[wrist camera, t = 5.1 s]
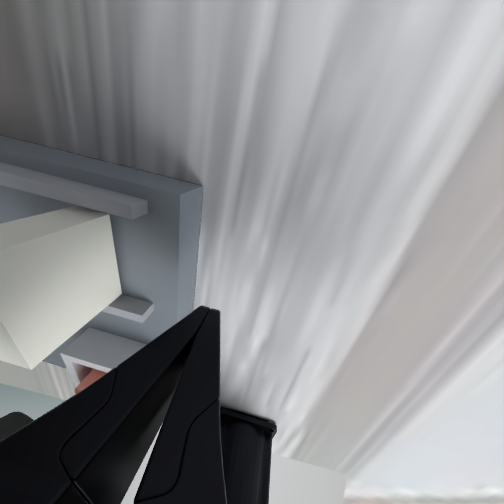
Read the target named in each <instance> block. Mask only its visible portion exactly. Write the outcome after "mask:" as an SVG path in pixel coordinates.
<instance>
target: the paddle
mask: <svg viewBox="0 0 504 504" xmlns="http://www.w3.org/2000/svg"><path fill="white" fill-rule="evenodd" d="M121 294H122V291H121V285H120V278H119V272H118V266H117V260H116V253H115V247H114V241H113V235H112V228H111V222H110V216H109V214H107V213H103V212H99V211H96V210H92V209H88V208H84V207H81V206H72V207H68V208H64V209H60V210H56V211H52V212H47V213H43V214H39V215H35V216H31V217H27V218H22V219H18V220H14V221H10V222H6V223H2V224H0V360H1V361H4V362H8V363H11V364H14V365H17V366H20V367H23V368H27V369H30V370H32V369H33V368H34V367H35V366H36V365H38V364H39V363H40V362H41V361H42V360H44V359H45V358H46V357H47V356H48V355H50V354H51V353H52V352H53V351H54V350H55V349H57V348H58V347H59V346H60V345H61V344H63V343H64V342H65V341H66V340H67V339H69V338H70V337H71V336H72V335H73V334H75V333H76V332H77V331H78V330H79V329H81V328H82V327H83V326H84V325H85V324H86V323H88V322H89V321H90V320H91V319H92V318H94V317H95V316H96V315H97V314H98V313H100V312H101V311H102V310H103V309H104V308H106V307H107V306H108V305H109V304H110V303H112V302H113V301H114V300H115V299H116V298H117V297H119V296H120V295H121Z"/></svg>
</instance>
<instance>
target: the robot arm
mask: <svg viewBox="0 0 504 504" xmlns="http://www.w3.org/2000/svg"><path fill="white" fill-rule="evenodd" d="M162 423H163V424H162ZM161 425H162V427H161V429H160V432H159V435H158V437H157V440H156V443H155V445H154V448H153V451H152V453H151V456H150V458H149V461H148V464H147V467H146V469H145V472H144V475H143V477H142V480H141V483H140V485H139V488H138V491H137V493H136V496H135V498H134V504H268V502H269V483H270V466H271V447H272V438H273V437H274V435H275V434H276V432H277V426H276V425H275V424H272V423H269V422H265V421H262V420H259V419H256V418H252V417H249V416H246V415H243V414H240V413H236V412H233V411H230V410H227V409H223V408H220V311H219V310H216V309H210V308H209V307H206V306H200V307H198V308H197V309H195V310H194V311H193V312H191V313H190V314H189V315H187V316H186V317H184V318H183V319H182V320H180V321H179V322H177V323H176V324H175V325H173V326H172V327H170V328H169V329H168V330H166V331H165V332H163V333H162V334H161V335H159V336H158V337H157V338H155V339H154V340H152V341H151V342H150V343H148V344H147V345H145V346H144V347H143V348H141V349H140V350H138V351H137V352H136V353H134V354H133V355H132V356H130V357H129V358H127V359H126V360H125V361H123V362H122V363H120V364H119V365H118V366H117V368H116V367H115V368H113V369H112V370H110V371H109V372H108V373H106V374H105V375H104V376H102V377H101V378H99V379H98V380H96V381H95V382H93V383H92V384H91V385H89V386H88V387H86V388H85V389H83V390H82V391H80V392H79V393H77V394H76V395H74V396H73V397H71V398H69V399H68V400H66V401H65V402H63V403H62V404H60V405H58V406H57V407H55V408H54V409H52V410H50V411H49V412H47V413H46V414H44V415H42V416H41V417H39V418H37V419H36V420H34V421H33V422H31V423H29V424H28V425H26V426H24V427H23V428H21V429H20V430H18V431H16V432H15V433H13V434H12V435H10V436H8V437H7V438H5V439H3V440H2V441H0V504H121V502H122V500H123V498H124V496H125V494H126V492H127V490H128V488H129V486H130V484H131V482H132V481H133V479H134V477H135V475H136V473H137V471H138V469H139V467H140V465H141V463H142V461H143V459H144V457H145V455H146V453H147V452H148V449H149V448H150V446H151V444H152V442H153V440H154V438H155V436H156V434H157V432H158V430H159V428H160V426H161Z"/></svg>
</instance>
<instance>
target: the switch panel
mask: <svg viewBox="0 0 504 504" xmlns="http://www.w3.org/2000/svg"><path fill="white" fill-rule="evenodd" d="M202 196H203V186H201V185H197V184H193V183H189V182H185V181H181V180H177V179H173V178H169V177H165V176H161V175H157V174H153V173H149V172H145V171H141V170H137V169H133V168H129V167H125V166H121V165H117V164H113V163H109V162H105V161H101V160H97V159H93V158H89V157H85V156H82V155H78V154H74V153H70V152H66V151H62V150H58V149H54V148H50V147H46V146H42V145H38V144H34V143H30V142H26V141H22V140H18V139H14V138H10V137H6V136H2V135H0V224H2V223H6V222H10V221H14V220H18V219H22V218H27V217H31V216H35V215H39V214H43V213H47V212H52V211H56V210H60V209H64V208H68V207H72V206H81V207H84V208H88V209H92V210H96V211H99V212H103V213H107V214H109V216H110V222H111V228H112V235H113V241H114V247H115V253H116V260H117V266H118V272H119V278H120V285H121V291H122V294H121V295H120V296H119V297H117V298H116V299H115V300H114V301H113V302H112V303H110V304H109V305H108V306H107V307H106V308H104V309H103V310H102V311H101V312H100V313H98V314H97V315H96V316H95V317H94V318H92V319H91V320H90V321H89V322H88V323H86V324H85V325H84V326H83V327H82V328H81V329H79V330H78V331H77V332H76V333H75V334H73V335H72V336H71V337H70V338H69V339H67V340H66V341H65V342H64V343H63V344H61V345H60V346H59V347H58V348H57V349H55V350H54V351H53V352H52V353H51V354H50V355H48V356H47V357H46V358H45V359H44V360H42V361H45V362H48V363H51V364H54V365H58V366H61V367H64V368H67V370H68V372H69V374H70V376H71V378H72V381H73V383H74V385H75V387H77V386H78V385H79V384H80V383H81V382H82V380H83V379H84V378H85V377H86V376H87V375H88V374H89V373H90V372H91V371H92V369H93V368H94V369H97V370H100V371H103V372H106V373H108V372H109V371H110V370H112V369H113V368H115V367H116V368H117V366H118V365H119V364H120V363H122V362H123V361H125V360H126V359H127V358H129V357H130V356H132V355H133V354H134V353H136V352H137V351H138V350H140V349H141V348H143V347H144V346H145V345H147V344H148V343H150V342H151V341H152V340H154V339H155V338H157V337H158V336H159V335H161V334H162V333H163V332H165V331H166V330H168V329H169V328H170V327H172V326H173V325H175V324H176V323H177V322H179V321H180V320H182V319H183V318H184V317H186V316H187V315H189V314H190V313H191V312H193V308H194V296H195V283H196V271H197V258H198V246H199V234H200V221H201V209H202Z"/></svg>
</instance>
